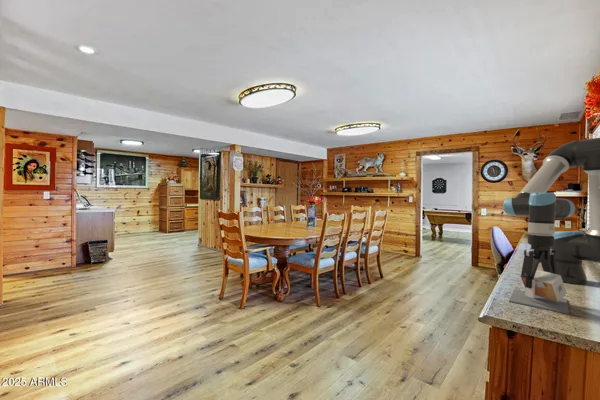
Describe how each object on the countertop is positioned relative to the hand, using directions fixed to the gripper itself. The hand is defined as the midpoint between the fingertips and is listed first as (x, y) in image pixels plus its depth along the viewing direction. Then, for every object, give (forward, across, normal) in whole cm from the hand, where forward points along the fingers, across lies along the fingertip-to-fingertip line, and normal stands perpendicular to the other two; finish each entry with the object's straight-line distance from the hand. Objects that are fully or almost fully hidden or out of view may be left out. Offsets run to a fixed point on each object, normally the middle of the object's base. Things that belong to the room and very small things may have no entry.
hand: (538, 295), depth 108 cm
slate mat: (+2, 0, 0) cm, 2 cm away
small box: (-5, 0, -7) cm, 8 cm away
